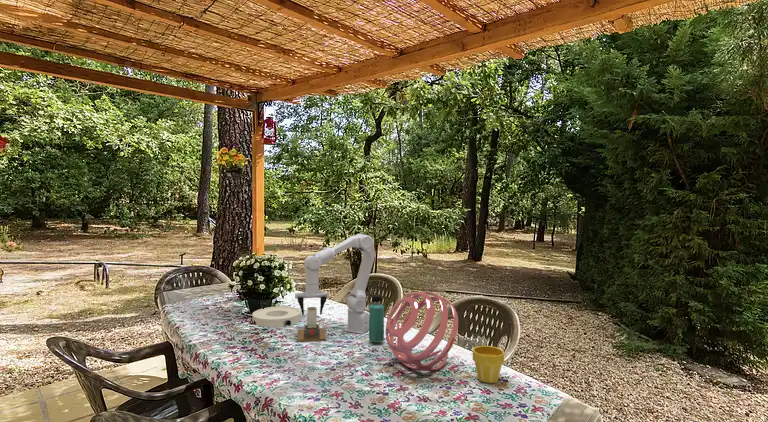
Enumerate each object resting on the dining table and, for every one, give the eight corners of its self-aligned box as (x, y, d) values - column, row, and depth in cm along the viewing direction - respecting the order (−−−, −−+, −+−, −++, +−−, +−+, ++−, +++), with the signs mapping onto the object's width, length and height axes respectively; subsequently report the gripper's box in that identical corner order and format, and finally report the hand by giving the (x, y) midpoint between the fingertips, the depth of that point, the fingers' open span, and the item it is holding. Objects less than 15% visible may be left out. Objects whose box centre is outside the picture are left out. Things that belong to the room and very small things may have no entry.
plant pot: (480, 370, 149) (481, 342, 148) (508, 378, 142) (509, 350, 142) (466, 379, 141) (467, 350, 140) (495, 388, 134) (496, 358, 134)
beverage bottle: (382, 346, 171) (383, 298, 170) (366, 345, 172) (367, 297, 172) (385, 341, 177) (386, 294, 177) (370, 339, 179) (370, 293, 178)
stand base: (298, 331, 188) (298, 322, 188) (325, 330, 190) (325, 321, 190) (297, 342, 175) (297, 332, 175) (326, 340, 177) (326, 331, 177)
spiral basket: (452, 299, 171) (407, 266, 159) (491, 337, 146) (441, 301, 134) (410, 353, 171) (361, 324, 159) (442, 399, 146) (387, 369, 134)
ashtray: (306, 315, 216) (306, 307, 216) (292, 329, 193) (292, 320, 193) (263, 313, 218) (263, 305, 218) (244, 326, 195) (244, 318, 195)
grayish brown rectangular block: (307, 325, 184) (307, 306, 184) (316, 324, 185) (316, 306, 185) (306, 328, 180) (307, 309, 180) (316, 327, 181) (316, 309, 181)
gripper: (328, 281, 187) (328, 311, 187) (295, 281, 185) (295, 312, 185) (329, 284, 180) (328, 315, 181) (294, 285, 178) (294, 316, 178)
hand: (311, 314), depth 182 cm, fingers open, 7 cm apart
